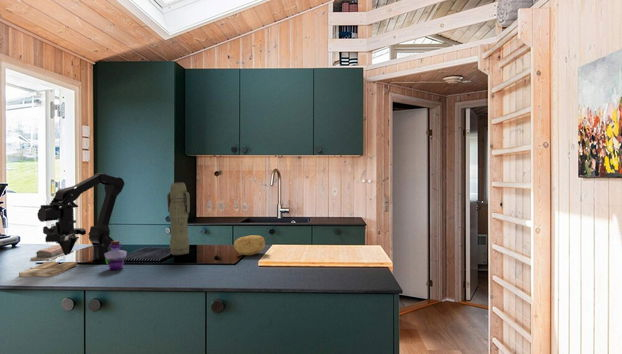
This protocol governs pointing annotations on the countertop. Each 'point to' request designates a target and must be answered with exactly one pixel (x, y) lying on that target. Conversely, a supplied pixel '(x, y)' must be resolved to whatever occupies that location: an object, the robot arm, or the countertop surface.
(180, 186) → the olive stone statue
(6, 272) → the countertop surface
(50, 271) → the pine floorboard strip
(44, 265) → the outer oak plank
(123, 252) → the potion bottle
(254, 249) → the potato
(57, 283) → the countertop surface
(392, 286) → the countertop surface
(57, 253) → the packaged product
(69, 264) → the inner oak plank
